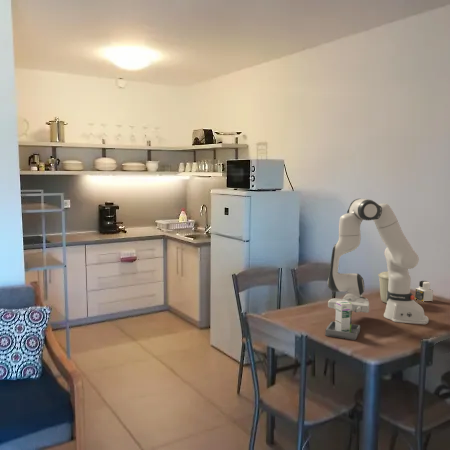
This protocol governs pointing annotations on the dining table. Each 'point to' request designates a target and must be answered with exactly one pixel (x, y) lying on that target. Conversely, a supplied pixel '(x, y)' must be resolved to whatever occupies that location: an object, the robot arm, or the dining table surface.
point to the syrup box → (343, 316)
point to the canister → (383, 285)
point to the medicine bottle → (424, 291)
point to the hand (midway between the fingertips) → (346, 309)
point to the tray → (340, 334)
